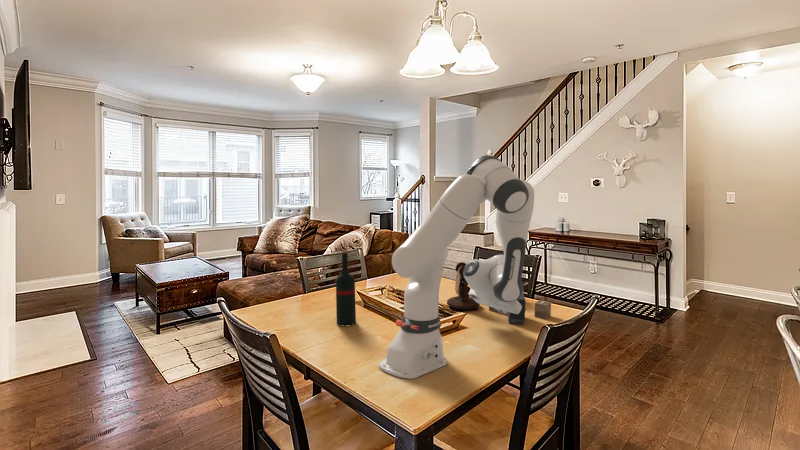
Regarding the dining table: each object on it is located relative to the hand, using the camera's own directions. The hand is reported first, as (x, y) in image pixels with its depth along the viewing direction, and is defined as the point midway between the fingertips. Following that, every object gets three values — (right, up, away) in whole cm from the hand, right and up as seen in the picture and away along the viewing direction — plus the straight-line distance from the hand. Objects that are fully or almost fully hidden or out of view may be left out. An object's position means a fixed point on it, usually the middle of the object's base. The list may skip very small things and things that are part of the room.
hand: (503, 311), depth 165 cm
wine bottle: (-63, -5, +5) cm, 64 cm away
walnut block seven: (+2, -3, +19) cm, 19 cm away
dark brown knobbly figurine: (-13, -3, +24) cm, 27 cm away
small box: (+7, -5, +6) cm, 10 cm away
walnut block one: (+19, -4, +10) cm, 22 cm away
